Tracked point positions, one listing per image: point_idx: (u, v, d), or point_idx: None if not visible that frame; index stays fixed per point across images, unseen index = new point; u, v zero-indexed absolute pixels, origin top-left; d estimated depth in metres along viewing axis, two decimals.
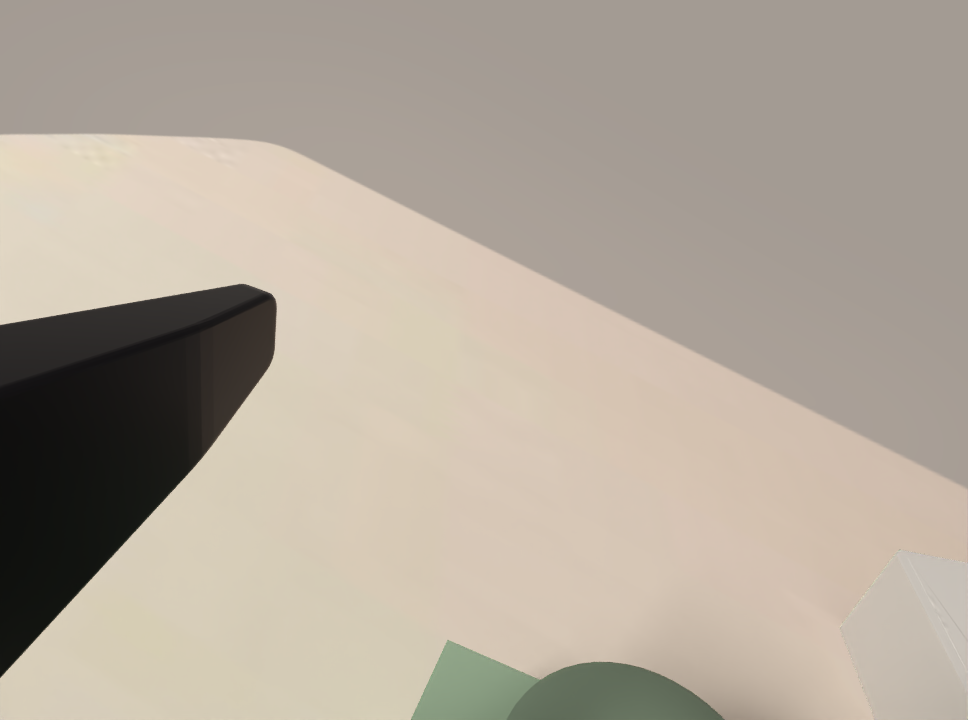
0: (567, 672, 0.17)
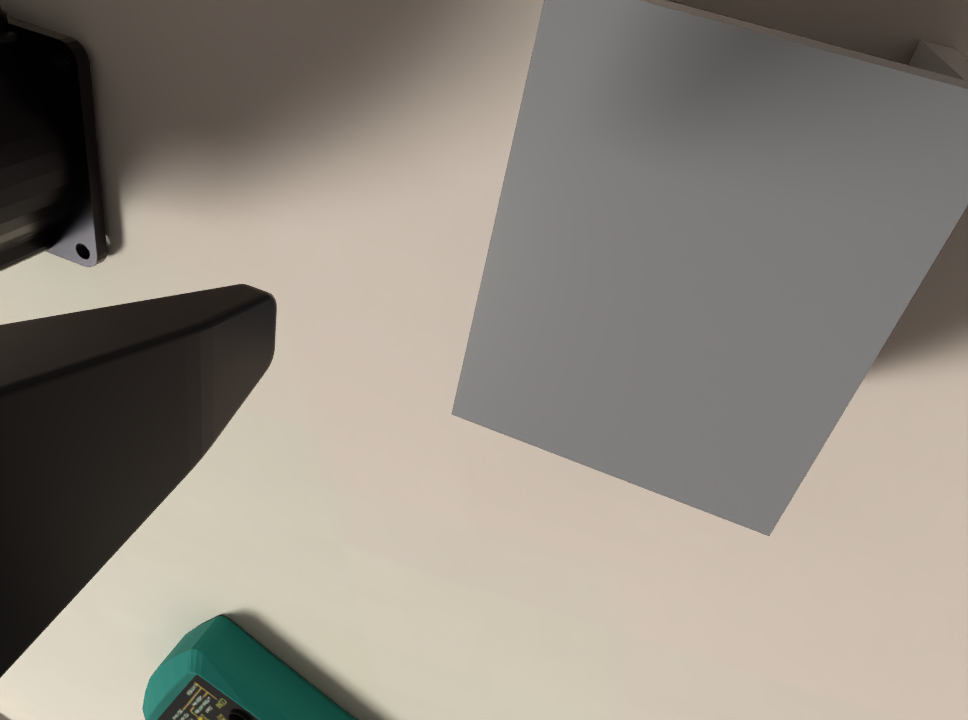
0: None
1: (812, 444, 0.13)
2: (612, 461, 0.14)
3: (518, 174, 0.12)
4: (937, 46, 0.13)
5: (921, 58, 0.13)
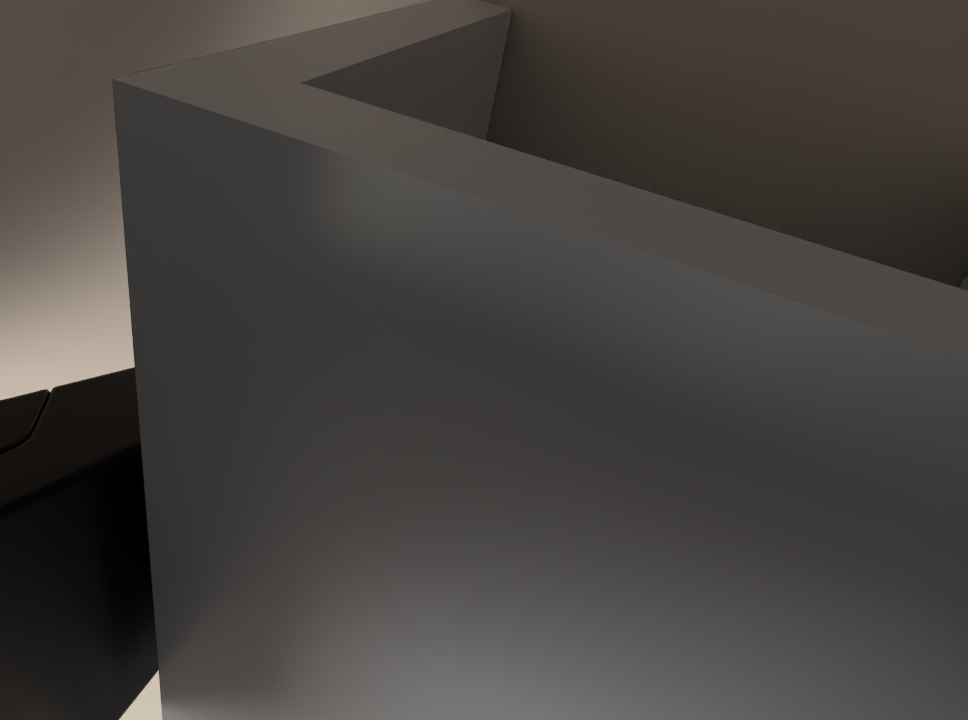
0: None
1: None
2: None
3: (170, 497, 0.05)
4: None
5: None
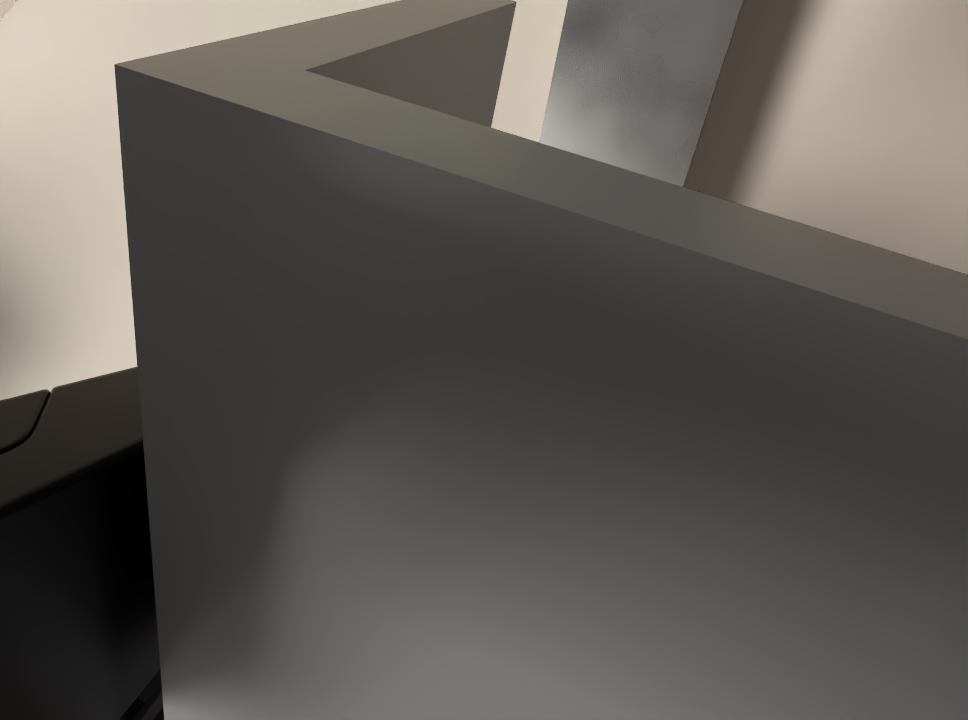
0: None
1: None
2: None
3: (172, 491, 0.05)
4: None
5: None
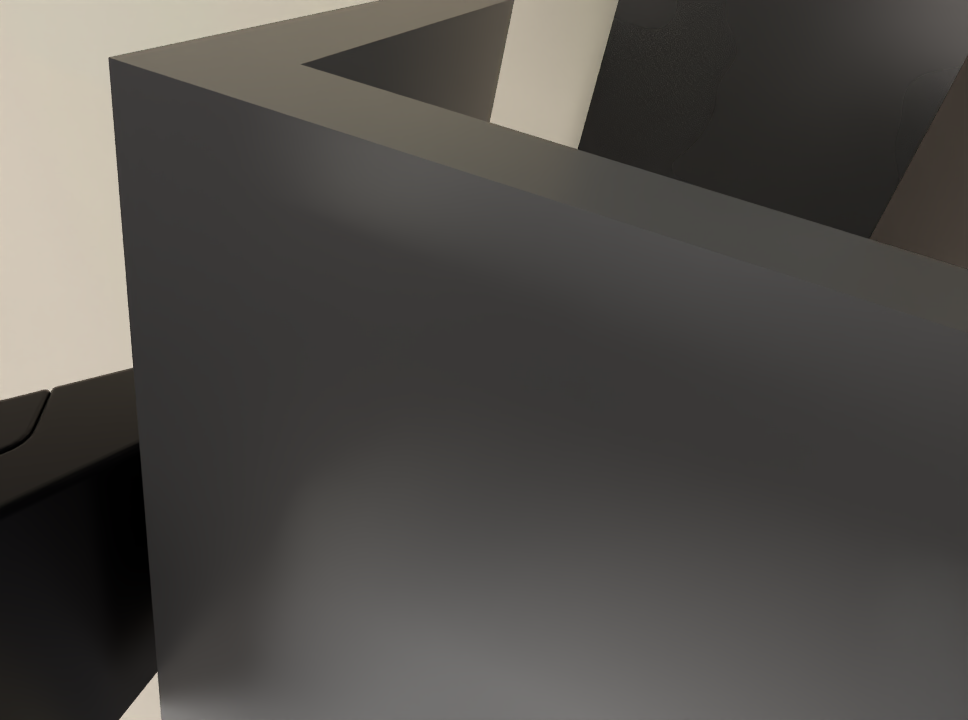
0: None
1: None
2: None
3: (168, 488, 0.05)
4: None
5: None
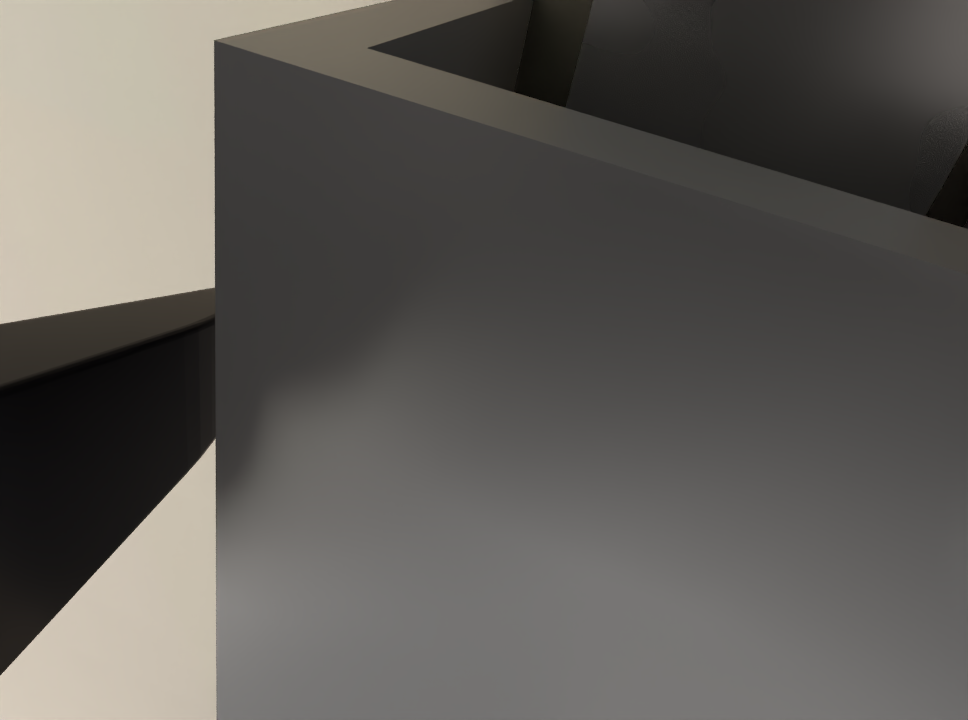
0: None
1: None
2: None
3: (239, 423, 0.06)
4: None
5: None
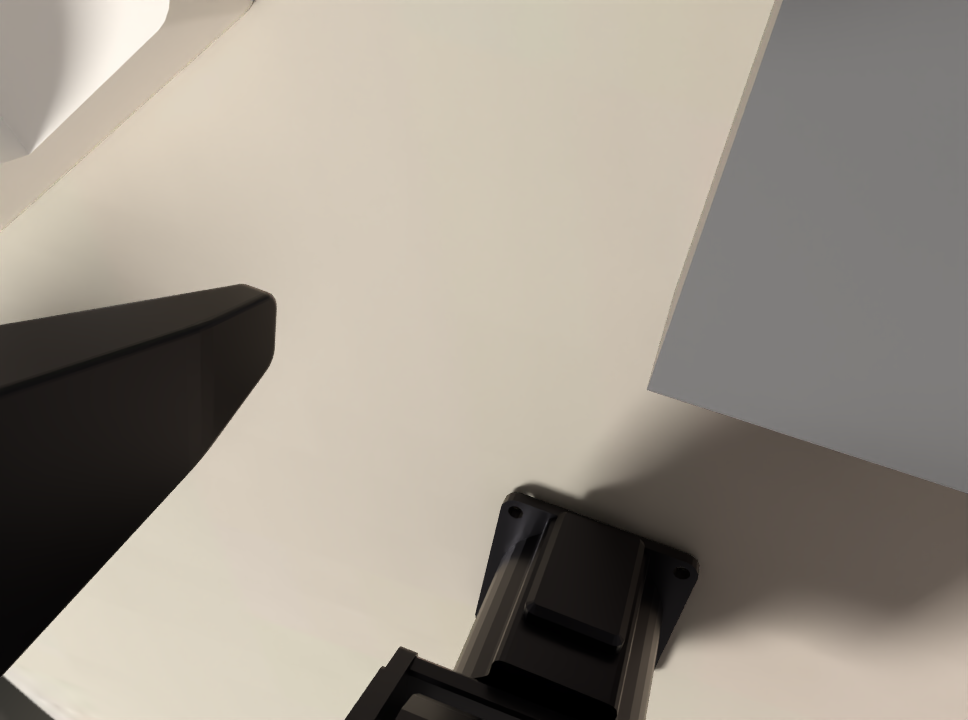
0: None
1: None
2: (812, 428, 0.15)
3: (742, 153, 0.13)
4: None
5: None
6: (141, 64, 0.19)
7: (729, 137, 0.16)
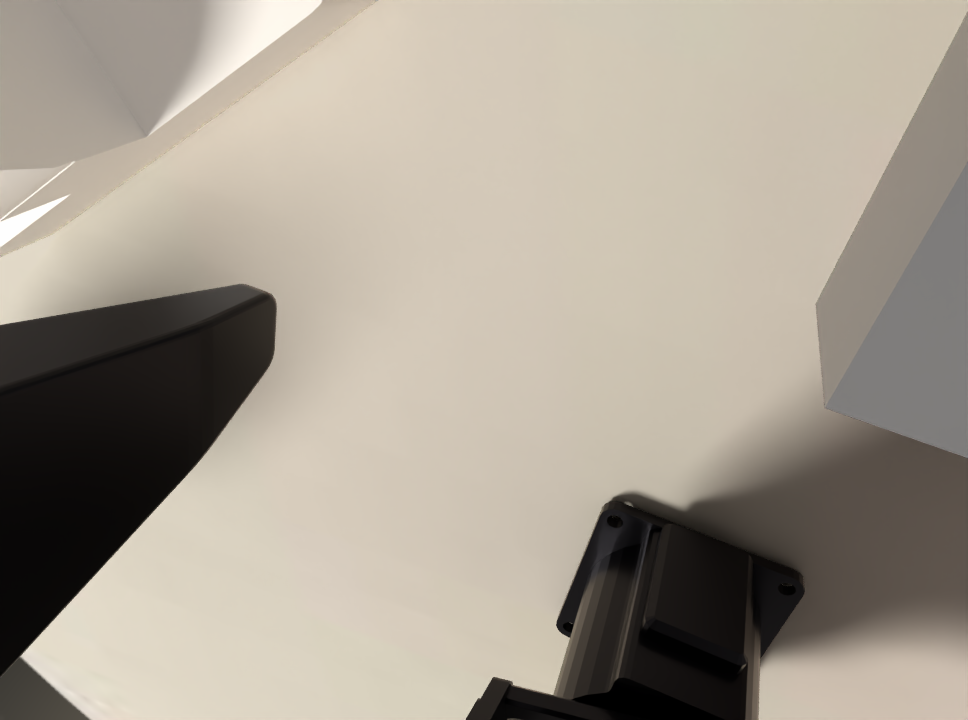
0: None
1: None
2: None
3: None
4: None
5: None
6: (279, 46, 0.18)
7: (916, 148, 0.15)
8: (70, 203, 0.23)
